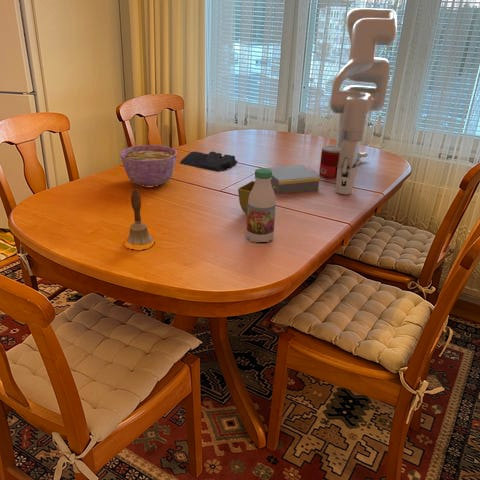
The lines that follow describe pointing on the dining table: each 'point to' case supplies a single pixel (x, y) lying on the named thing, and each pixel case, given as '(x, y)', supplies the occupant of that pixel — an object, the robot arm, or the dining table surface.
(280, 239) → the dining table surface
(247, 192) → the flower pot
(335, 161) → the canned food
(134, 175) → the bowl of food
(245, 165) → the dining table surface
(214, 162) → the dark slate chunk
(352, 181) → the white cup
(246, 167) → the dining table surface
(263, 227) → the milk bottle
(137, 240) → the hand bell
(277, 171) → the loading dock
